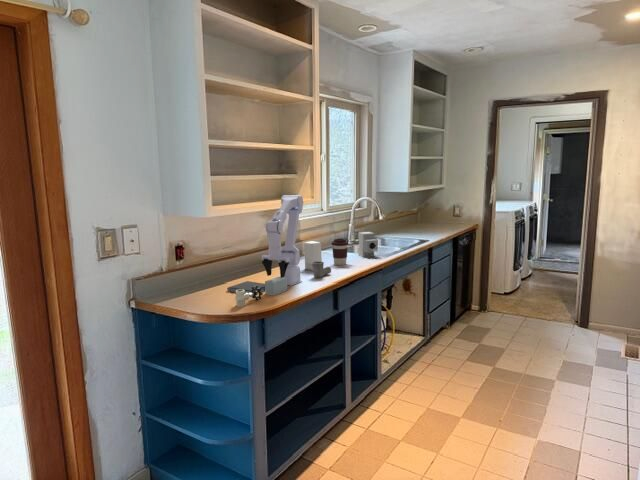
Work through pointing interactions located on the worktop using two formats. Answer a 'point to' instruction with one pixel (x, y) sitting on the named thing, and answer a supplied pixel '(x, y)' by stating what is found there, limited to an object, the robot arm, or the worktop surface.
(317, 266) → the pipe
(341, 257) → the coffee cup
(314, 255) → the skincare box
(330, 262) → the worktop surface
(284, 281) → the block
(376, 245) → the circuit breaker
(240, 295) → the valve
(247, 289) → the shallow gray tray
